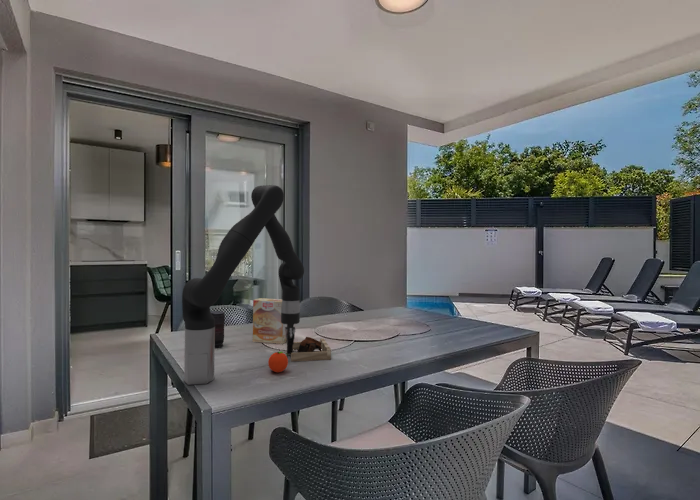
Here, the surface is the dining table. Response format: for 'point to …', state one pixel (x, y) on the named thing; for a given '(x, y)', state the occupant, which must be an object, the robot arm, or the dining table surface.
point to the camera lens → (219, 327)
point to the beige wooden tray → (312, 353)
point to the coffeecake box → (268, 321)
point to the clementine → (278, 361)
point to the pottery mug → (309, 345)
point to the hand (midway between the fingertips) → (289, 353)
